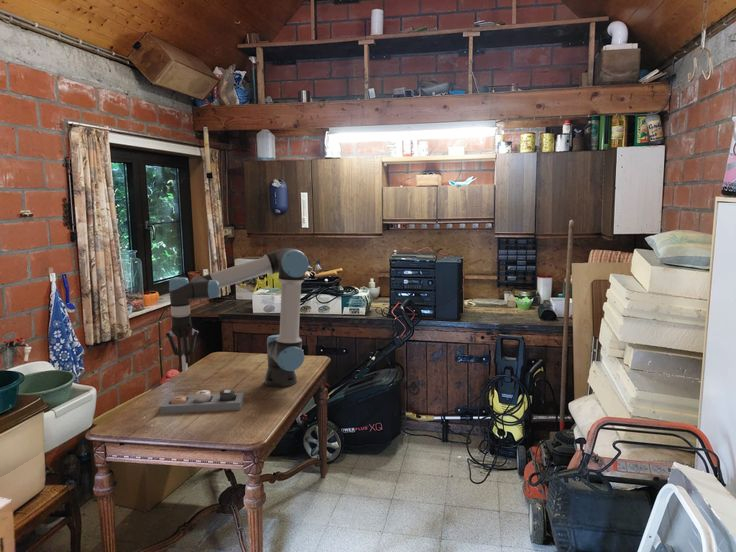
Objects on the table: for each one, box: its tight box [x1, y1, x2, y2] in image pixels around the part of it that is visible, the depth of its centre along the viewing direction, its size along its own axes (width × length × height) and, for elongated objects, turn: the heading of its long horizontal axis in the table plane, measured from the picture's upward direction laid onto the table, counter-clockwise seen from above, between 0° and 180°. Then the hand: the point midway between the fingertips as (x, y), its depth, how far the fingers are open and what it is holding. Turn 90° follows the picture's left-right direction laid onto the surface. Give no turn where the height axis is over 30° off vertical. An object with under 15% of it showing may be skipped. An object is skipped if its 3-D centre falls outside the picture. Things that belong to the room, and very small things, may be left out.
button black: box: [219, 388, 236, 401], centre depth 227 cm, size 6×6×4 cm
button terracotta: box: [171, 395, 186, 404], centre depth 225 cm, size 6×6×4 cm
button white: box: [194, 389, 211, 403], centre depth 226 cm, size 6×6×4 cm
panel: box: [159, 392, 245, 415], centre depth 226 cm, size 32×12×3 cm, turn 97°
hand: (185, 370), depth 223 cm, fingers closed
